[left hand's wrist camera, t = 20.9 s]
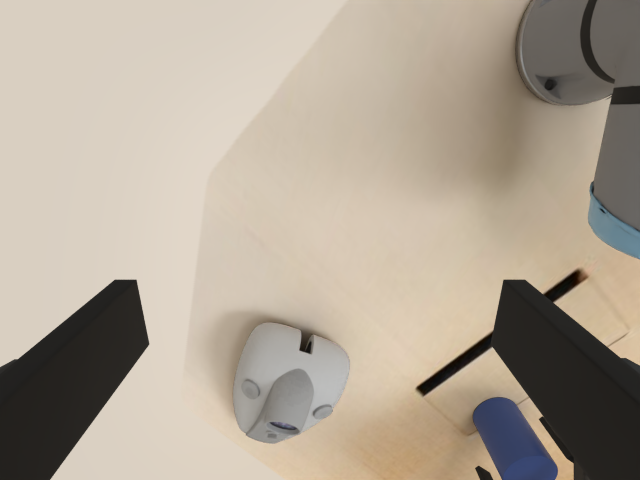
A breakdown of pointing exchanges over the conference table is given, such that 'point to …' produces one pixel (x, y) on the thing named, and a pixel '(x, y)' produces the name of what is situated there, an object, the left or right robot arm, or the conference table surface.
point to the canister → (512, 442)
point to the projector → (286, 382)
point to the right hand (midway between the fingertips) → (513, 446)
